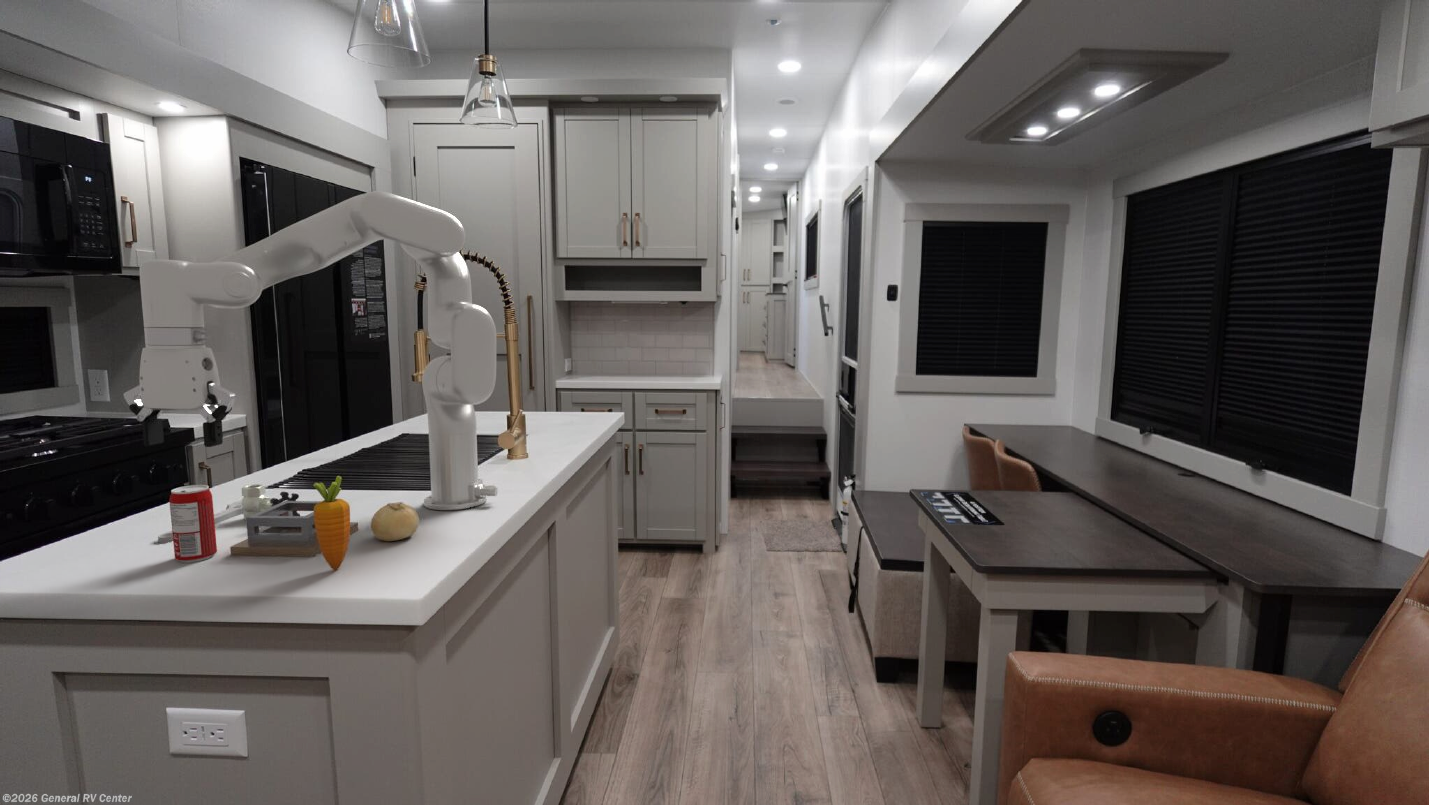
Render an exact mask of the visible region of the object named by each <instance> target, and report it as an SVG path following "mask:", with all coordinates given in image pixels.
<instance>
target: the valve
mask: <svg viewBox="0 0 1429 805" xmlns="http://www.w3.org/2000/svg"><path fill="white" fill-rule="evenodd" d="M265 494H266V486H265V485H264V484H260V483H259V484H258V483H257V484H256V483H255V484H248V485H244V486H243V487H241V497H242V499H241V500H242V508H243V509H244V511H245V512H243V513H244V514H243V520H244V521H246V518H247V517H249V516H251V515H254V514H256V513H258V512H261V511H263V510H265V509H268V508H270V507H272V506H275V505H277V504H279V503H282V502H284V501H297V500H298V499H299V496H300V495H299V494H298V493H291V494H290V497H289V492H288V491H281V492H280V493H279V496H281V498H275V497H268V496H266V495H265ZM292 512H293V516H301V514H300V513H299V512H298V511H292ZM278 516H282V514H280V515H278Z"/></svg>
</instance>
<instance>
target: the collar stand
mask: <svg viewBox="0 0 1429 805" xmlns="http://www.w3.org/2000/svg"><path fill="white" fill-rule="evenodd" d="M321 501H322V500H321ZM321 501H320V500H317V501H315V500H312V501H311V500H310V501H309V500H296V501H287V500H285V501H283V502H282V503H279V504H277V505H275V506H272V507H270V508H268V509H265V510H263V511H261V512H258V513H256V514H254V515H251V516H249V517H247V518H246V520H245V521H246V533H247V538H246V539H244V540H242V541H240V542H238V543H235V544H233V545H231V546H229V550H230V556H234V557H235V556H237V557H238V556H239V557H240V556H242V557H243V556H246V557H249V556H250V557H252V556H253V557H257V556H258V557H266V556H267V557H316V556H318V555H319V554H322V552H321V549H320V546H319V543H318V539H317V535H316V528H315V520H314V506H315V505H316V504H317V503H319V502H321ZM292 511H297V512H310V513H308V514H307V515H300V516H293V512H292ZM280 514H282V516H278V515H280ZM260 527H262V528H260ZM358 531H359V522H354V521H352V522H351V521H350V536H351V535H352V534H355V533H356V532H358Z"/></svg>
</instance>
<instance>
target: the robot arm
mask: <svg viewBox="0 0 1429 805" xmlns="http://www.w3.org/2000/svg"><path fill="white" fill-rule="evenodd" d="M383 240H389V241H392V242H396V243H397V244H398V243H399V246H401V248H402V249H403V251H404V253H407V254H408V255H409V257H411V258H412V259H414V261H416V262H417V263H418V265H420V267H421V269H422V270H423V272H424V275H425V278H426V283H427V284H426V285H427V331H428V334H429V335H428V336H429V338H430V340H431V342H432V343H433V344H434V345H436V346H438V347H440V348H442V349H447V350H450V355H442V356H438V357H435V358H434V359H432V360H430V361H429V363H428V364H427V365H426V366H425V367H424V370H423V372H422V377H421V385H422V392H423V396H424V400H425V406H426V414H427V423H428V425H427V426H428V450H429V451H428V452H429V468H430V491H431V492H430V493H431V494H430V495H428V496H427V497H425V498H424V499H423V505H424V508H427V509H429V510H435V511H437V510H438V511H456V510H465V509H469V508H470V507H471V508H473V507H474V506H475V507H478V506H480V505H483V504H484V503H485V502H486V501H487V497H497V496H498V493H499V492H498V487H497V486H495V485H485V484H483V483H484V482H483V480H484V479H483V478H480V479H479V471H478V470H479V469H478V467H479V466H478V465H479V464H478V441H477V437H478V436H477V431H478V430H477V418H476V417H477V416H476V411H475V407H474V406H476V405H479V404H482V403H484V402H486V401H487V400H488V399H489V398H490V397H491V395H492V394H493V392H494V390H495V387H496V381H497V329H496V328H497V327H496V324H495V322H494V319H493V317H492V316H491V314H490V313H489V312H488V310H487V309H485V308H484V307H482V306H481V305H478V304H476V303H473V298H472V297H473V296H472V295H473V294H472V282H471V280H472V278H471V274H470V270H469V268H468V265H467V263H466V261H465V259H464V258H463V256H462V255H461V253H460V251H461V250H462V249H463V247H464V245H465V241H466V231H465V228H464V226H463V225H462V223H461V222H460V221H459V219H458V218H457V217H456V216H454V215H452V214H451V213H449V212H447V211H445V210H442V209H440V208H436V207H433V206H430V205H427V204H424V203H421V202H419V201H415V200H413V199H409V198H406V197H403V196H401V195H397V194H395V193H390V192H387V191H381V190H374V191H373V190H372V191H370V192H365V193H362V194H358V195H356V196H352V197H350V198H348V199H345V200H343V201H341V202H339V203H337V204H334V205H333V206H330V207H328V208H325V209H324V210H321V211H319V212H317V213H315V214H313V215H311V216H308V217H307V218H304V219H301V220H300V221H297V222H296V223H295V222H294V223H293V224H291V225H288V226H286V227H284V228H283V229H280V230H278V231H277V232H275V233H273V234H271V235H270V236H268V237H265V238H263V239H261V240H259V241H257V242H255V243H253V244H250V245H248V246H246V247H244V248H242V249H239V250H236V251H235V252H233V253H231V254H229V255H226V256H224V257H221V258H220V259H217V260H215V261H213V262H191V261H188V260H180V259H179V260H178V259H158V258H157V259H155V258H154V259H147V260H144V261H142V262H141V263H140V265H139V283H140V294H141V295H140V296H141V308H142V317H143V319H142V320H143V327H144V328H143V330H144V343H145V347H142V351H141V357H140V361H139V362H140V364H139V365H140V366H139V384H138V385H137V386H135V387H132V388H131V389H129V390H127V391H125V392H124V393H123V398H124V400H125V402H126V403H127V404H128V405H129V410H130V411H131V412H132V413H133V414H134V415H135V416H136V420H137V421H139V422H141V427H142V439H143V440H142V441H143V446H145V447H150V446H155V445H156V446H157V445H160V444H163V443H164V442H165V439H164V426H163V420H162V418H158V417H160V415H161V414H162V413H163V411H196V412H198V413H199V414H200V415H201V416H202V417H203V419H205V422H203V424H202V432H203V433H202V434H203V442H204V443H203V445H204V447H205V448H211V447H216V446H219V445H222V444H223V438H224V436H223V435H224V434H223V422H222V421H224V420H226V418H227V417H226V416H227V415H228V414H229V413H231V411H232V409H233V406H234V404H235V401H236V399H237V395H236V393H234V392H233V391H230V390H228V389H226V388H225V387H223V386H221V380H220V375H219V369H218V365H217V361H216V358H215V355H214V353H213V350H212V348H211V347H206V342H207V341H208V342H209V341H211V338H212V335H211V333H210V332H206V331H205V321H204V320H205V319H204V305H205V306H206V305H207V306H210V307H213V308H217V309H241V308H245V307H249V306H251V305H252V304H254V303H256V301H257V300H258V299H259V298H260V296H261V295H262V292H263V291H264V290H265V289H268V288H269V287H272V286H274V285H276V284H278V283H281V282H284V281H286V280H289V279H292V278H296V277H299V276H304V275H307V274H311V273H314V272H317V271H319V270H322V269H324V268H327V267H328V266H331V265H332V264H334V263H336V262H339V261H340V260H342V259H343V258H346V257H347V256H350V255H351V254H353V253H356V252H357V251H359V250H361V249H363V248H365V247H367V246H369V245H371V244H373V243H376V242H378V241H383ZM475 507H474V508H475ZM471 508H470V509H471Z"/></svg>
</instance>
